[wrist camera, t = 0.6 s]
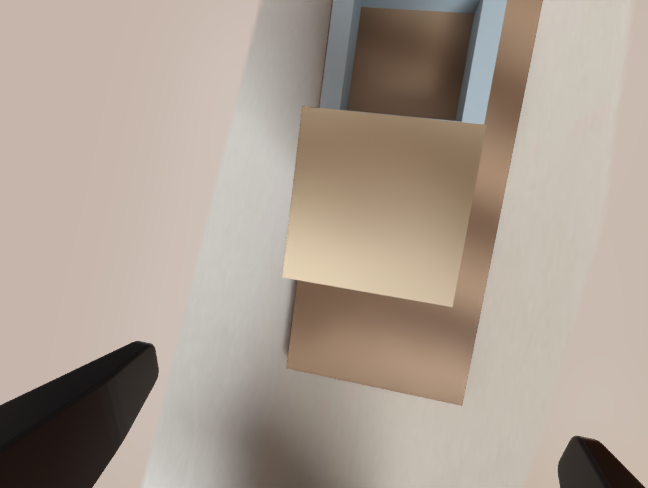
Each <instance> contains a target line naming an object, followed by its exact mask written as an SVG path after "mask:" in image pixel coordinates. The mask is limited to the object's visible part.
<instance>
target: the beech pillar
mask: <svg viewBox="0 0 648 488" xmlns="http://www.w3.org/2000/svg"><path fill="white" fill-rule="evenodd" d="M486 126H487V125H484V124H474V123H464V122H454V121H444V120H434V119H424V118H414V117H404V116H394V115H384V114H374V113H364V112H355V111H345V110H335V109H325V108H315V107H305V106H302V114H301V122H300V131H299V139H298V148H297V156H296V165H295V173H294V182H293V190H292V199H291V207H290V216H289V224H288V232H287V241H286V249H285V258H284V266H283V275H282V277H283V278H288V279H294V280H300V281H306V282H311V283H317V284H323V285H328V286H334V287H340V288H346V289H351V290H357V291H363V292H368V293H374V294H380V295H386V296H391V297H397V298H403V299H408V300H414V301H420V302H426V303H431V304H437V305H443V306H448V307H453V302H454V297H455V291H456V286H457V281H458V275H459V270H460V265H461V259H462V254H463V249H464V243H465V238H466V233H467V227H468V222H469V217H470V211H471V206H472V201H473V195H474V190H475V185H476V179H477V174H478V169H479V163H480V158H481V153H482V147H483V142H484V137H485V131H486Z"/></svg>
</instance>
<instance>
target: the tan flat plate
mask: <svg viewBox="0 0 648 488" xmlns="http://www.w3.org/2000/svg"><path fill="white" fill-rule="evenodd" d="M542 2H543V0H507V4H506V9H505V15H504V20H503V26H502V31H501V36H500V42H499V47H498V52H497V58H496V63H495V68H494V74H493V79H492V84H491V90H490V95H489V101H488V106H487V111H486V117H485V122H484V125H487V126H486V131H485V137H484V142H483V147H482V153H481V158H480V163H479V169H478V174H477V179H476V185H475V190H474V195H473V201H472V206H471V211H470V217H469V222H468V227H467V233H466V238H465V243H464V249H463V254H462V259H461V265H460V270H459V275H458V281H457V286H456V291H455V297H454V302H453V307H448V306H443V305H437V304H431V303H426V302H420V301H414V300H408V299H403V298H397V297H391V296H386V295H380V294H374V293H368V292H363V291H357V290H351V289H346V288H340V287H334V286H328V285H323V284H317V283H311V282H306V281H300V280H297V288H296V296H295V304H294V312H293V320H292V328H291V336H290V344H289V352H288V360H287V368H288V369H293V370H297V371H302V372H307V373H311V374H316V375H321V376H326V377H330V378H335V379H340V380H344V381H349V382H354V383H358V384H363V385H368V386H372V387H377V388H382V389H386V390H391V391H396V392H400V393H405V394H410V395H414V396H419V397H424V398H428V399H433V400H438V401H442V402H447V403H452V404H457V405H461V406H462V404H463V399H464V394H465V389H466V383H467V378H468V373H469V368H470V363H471V358H472V353H473V348H474V343H475V338H476V333H477V328H478V323H479V318H480V313H481V308H482V303H483V298H484V293H485V288H486V283H487V278H488V273H489V268H490V263H491V258H492V253H493V248H494V243H495V238H496V233H497V228H498V223H499V218H500V213H501V208H502V203H503V198H504V193H505V188H506V183H507V178H508V173H509V168H510V163H511V158H512V153H513V148H514V143H515V138H516V132H517V127H518V122H519V117H520V112H521V107H522V102H523V97H524V92H525V87H526V82H527V77H528V72H529V67H530V62H531V57H532V52H533V47H534V42H535V37H536V32H537V27H538V22H539V17H540V12H541V7H542ZM332 5H333V0H332ZM331 13H332V6H331ZM473 19H474V13H458V12H441V11H423V10H405V9H387V8H369V7H361V11H360V19H359V26H358V34H357V41H356V48H355V56H354V63H353V71H352V78H351V85H350V93H349V100H348V108H347V110H349V111H359V112H369V113H379V114H389V115H399V116H409V117H419V118H429V119H439V120H449V121H456V115H457V110H458V104H459V98H460V93H461V87H462V81H463V75H464V70H465V64H466V58H467V53H468V47H469V41H470V36H471V30H472V24H473ZM330 21H331V14H330ZM329 29H330V22H329ZM328 37H329V30H328ZM327 45H328V38H327ZM326 53H327V46H326ZM325 61H326V54H325ZM324 69H325V63H324ZM323 77H324V71H323ZM322 85H323V79H322ZM321 93H322V87H321ZM320 101H321V95H320ZM319 108H320V103H319Z"/></svg>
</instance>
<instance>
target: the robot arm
mask: <svg viewBox="0 0 648 488" xmlns="http://www.w3.org/2000/svg"><path fill="white" fill-rule="evenodd" d="M158 372H159V368H158V363H157V356H156V350H155V347H154V346H153V344H150V343H145V342H141V341H135V342H132V343H130V344H128V345H126V346H124V347H122V348H120V349H117V350H115V351H113V352H111V353H109V354H107V355H105V356H103V357H101V358H99V359H97V360H94V361H92V362H90V363H88V364H86V365H84V366H82V367H80V368H78V369H76V370H73V371H71V372H69V373H67V374H65V375H63V376H61V377H59V378H57V379H55V380H52V381H50V382H48V383H46V384H44V385H42V386H40V387H38V388H36V389H33V390H32V391H30V392H27V393H25V394H23V395H21V396H19V397H17V398H15V399H13V400H10V401H9V402H6V403H4V404H2V405H0V488H92V487H93V486H94V484H95V483H96V481H97V480H98V478H99V477H100V475H101V474H102V472H103V471H104V469H105V468H106V466H107V465H108V463H109V462H110V460H111V459H112V457H113V456H114V455H115V453H116V451H117V450H118V448H119V447H120V445H121V444H122V442H123V440H124V439H125V437H126V435H127V433H128V432H129V430H130V428H131V426H132V424H133V423H134V421H135V419H136V417H137V415H138V413H139V412H140V410H141V408H142V406H143V404H144V402H145V400H146V399H147V397H148V395H149V393H150V391H151V390H152V388H153V386H154V384H155V382H156V380H157V377H158ZM558 477H559V483H560V488H645V487H644V486H643V485H642V484H641V483H640V482H639V481H638V480H637V479H636V478H635V477H634V476H633V475H632V474H631V473H630V472H629V471H628V470H627V469H626V468H625V466H624V465H623V464H621V462H620V461H619V460H618V459H617V458H615V456H614V455H613V454H612V453H611V452H610V451H608V449H607V448H606V447H605V446H604V445H603V444H602V443H600V442H599V441H597V440H595V439H591V438H586V437H581V436H574V437H572V438H571V440H570V442H569V443H568V445H567V447H566V449H565V451H564V453H563V455H562V457H561V458H560V461H559V464H558Z"/></svg>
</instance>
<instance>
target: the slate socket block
mask: <svg viewBox="0 0 648 488" xmlns="http://www.w3.org/2000/svg"><path fill="white" fill-rule="evenodd" d="M506 4H507V0H333V5H332V13H331V21H330V29H329V37H328V45H327V53H326V61H325V69H324V77H323V85H322V93H321V101H320V108H325V109H335V110H345V111H349V110H347V108H348V100H349V93H350V85H351V78H352V71H353V63H354V56H355V48H356V41H357V34H358V26H359V19H360V11H361V7H369V8H387V9H405V10H423V11H441V12H458V13H474V19H473V24H472V30H471V36H470V41H469V47H468V53H467V58H466V64H465V70H464V75H463V81H462V87H461V93H460V98H459V104H458V110H457V115H456V121H454V122H464V123H474V124H484V122H485V117H486V111H487V106H488V101H489V95H490V90H491V84H492V79H493V74H494V68H495V63H496V58H497V52H498V47H499V42H500V36H501V31H502V26H503V20H504V15H505V9H506ZM355 112H359V111H355ZM364 113H369V112H364ZM374 114H379V113H374ZM384 115H389V114H384ZM394 116H399V115H394ZM404 117H409V116H404ZM414 118H419V117H414ZM424 119H429V118H424ZM434 120H439V119H434ZM444 121H449V120H444Z"/></svg>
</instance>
